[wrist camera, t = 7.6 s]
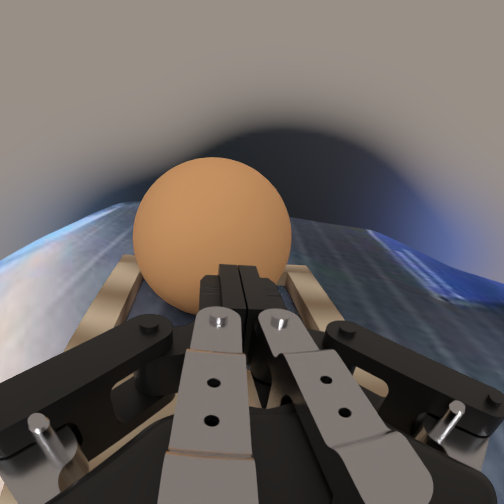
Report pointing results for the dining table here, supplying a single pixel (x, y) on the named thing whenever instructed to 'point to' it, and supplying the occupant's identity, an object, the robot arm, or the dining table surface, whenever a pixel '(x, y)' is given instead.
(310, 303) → the board
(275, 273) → the ball
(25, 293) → the dining table surface
